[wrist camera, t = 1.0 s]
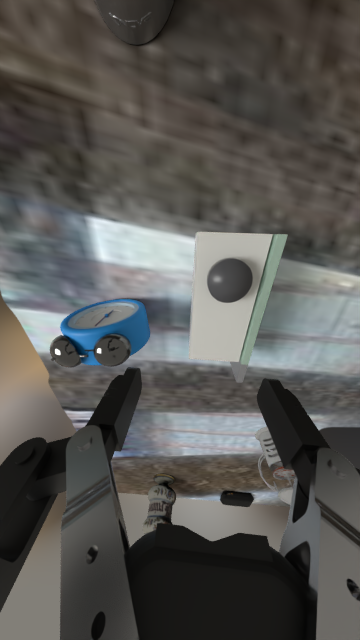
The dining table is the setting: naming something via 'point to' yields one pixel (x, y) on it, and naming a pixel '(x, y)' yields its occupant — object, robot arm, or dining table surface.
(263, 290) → the side door
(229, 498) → the carrying case or bag
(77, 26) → the dining table surface
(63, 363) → the alarm clock
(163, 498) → the apothecary jar
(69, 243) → the dining table surface
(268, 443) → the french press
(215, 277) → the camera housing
